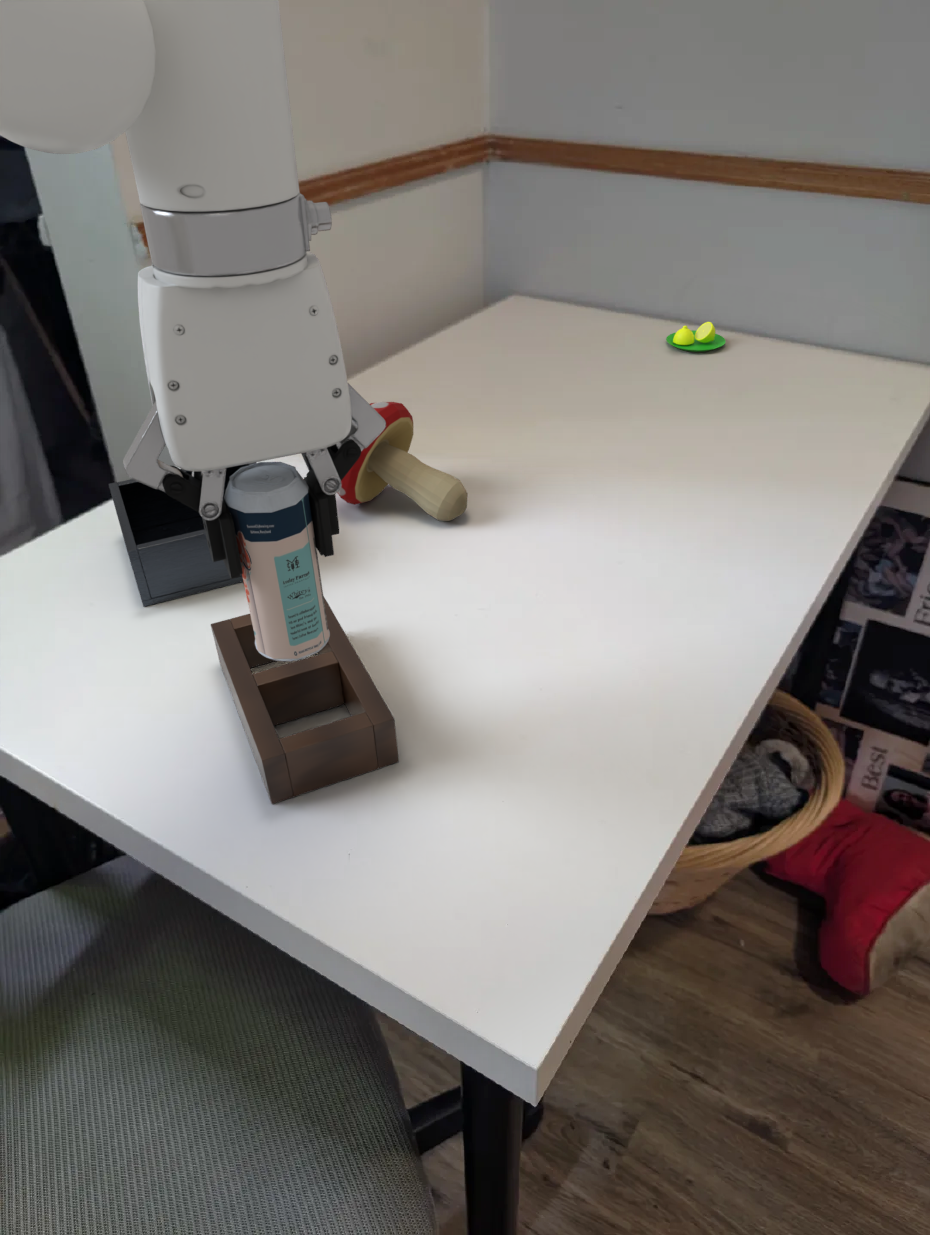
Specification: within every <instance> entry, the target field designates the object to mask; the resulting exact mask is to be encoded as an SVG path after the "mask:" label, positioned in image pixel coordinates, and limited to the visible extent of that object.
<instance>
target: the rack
mask: <svg viewBox="0 0 930 1235" xmlns="http://www.w3.org/2000/svg"><path fill="white" fill-rule="evenodd" d="M324 603H325V610H326V616H327V623H328V629H329V631H330V637H329V640H328V642H327V644H326V645H325V646H324V647H323V648H322V649H321V650H320V651H319V652H317V653H318V654H317V655H314V656H313V655H312V656H309V657H306V658H304V659H301V660H297V661H291V662H288V663H286V664H283V665H279V666H275V667H271V668H268V669H265V670H260V671H258V672H254V673H253V672H252V668H256V667H259V666H262V665H266V664H270V663H273V662H276V661H275V660H272V659H269V658H266V657H265V656H263V655H262V654H260V653H259V652H258V650H257V649H256V646H255V635H254V630H253V625H252V620H251V615H250V613H247V614H243V615H239V616H237V617H236V616H235V617H231V618H228V619H223V620H221V621H217V622H213V623H211V624H210V627H211V632H212V637H213V641H214V645H215V649H216V652H217V653H216V654H217V657H218V661H219V665H220V668H221V671H222V673H223V676H224V679H225V681H226V684H227V687H228V689H229V692H230V695H231V698H232V701H233V703H234V707H235V709H236V711H237V712H236V713H237V714H238V717H239V719H240V723H241V725H242V728H243V731H244V734H245V736H246V739H247V741H248V744H249V747H250V749H251V753H252V755H253V758H254V760H255V763H256V766H257V769H258V771H259V774H260V776H261V780H262V782H263V785H264V788H265V790H266V793H267V795H268V799H269V801H270V804H271V805H274V804H277V803H280V802H283V801H286V800H289V799H293V798H294V797H298V796H301V795H304V794H307V793H310V792H313V791H316V790H319V789H322V788H325V787H328V786H331V785H334V784H337V783H340V782H343V781H347V780H349V779H352V778H355V777H358V776H361V775H364V774H368V773H370V772H374V771H376V770H379V769H383V768H385V767H388V766H391V765H393V764H397V763H399V762H400V761H399V760H400V759H399V750H398V742H397V741H398V739H397V730H396V722H395V717H394V715H393V714H392V712H391V710H390V709H389V707H388V705H387V703H386V702H385V700H384V698H383V697H382V695H381V693H380V691H379V689H378V688H377V686H376V684H375V682H374V681H373V679H372V677H371V676H370V674H369V671H368V670H367V669H366V667H365V665H364V663H363V661H362V660H361V658H360V657H359V655H358V653H357V652H356V650H355V648H354V646H353V645H352V643H351V641H350V639H349V637H348V636H347V634H346V631H344V629H343V627H342V625H341V623H340V622H339V620H338V618H337V617H336V615H335V612H333V610H332V608H331V605H329V603H328V601H327V599H326V597H324ZM343 705H345V707H346V709H347V711H348V714H349V715H350V716H348V717H345V718H341V719H338V720H335V721H332V722H329V723H325V724H322V725H319V726H315V727H312V728H309V729H306V730H302V731H299V732H297V733H296V732H295V733H293V734H290V735H287V736H284V737H279V735H278V733H277V730H276V728H275V726H278V725H281V724H284V723H287V722H291V721H294V720H297V719H301V718H304V717H307V716H310V715H314V714H317V713H320V712H324V711H327V710H329V709H333V708H336V707H340V706H343Z"/></svg>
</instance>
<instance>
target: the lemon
mask: <svg viewBox="0 0 930 1235" xmlns="http://www.w3.org/2000/svg"><path fill="white" fill-rule="evenodd" d="M665 340H666V341H665V342H667V343H668V345H671V346H672V347H674V348H676V349H678V350H681V351H685V352H690V353H691V352H692V353H704V352H705V353H706V352H709V351H713V350H715V349H718V348H721V347H723V346H724V345H725V344H726V339H725V337H724V336H722V335H721V334H718V333H716V328H715V325H714V324H713V322H711V321H706V322H704V323H702V324H701V325H700V326H699V327H698V328H697V329H696V330H693V329H692V330H691V329H690V328H689V327H688V325H683V326H682V327H681V328H679V329H678V330H677V331H676V332H672V333H670V334H669V335H667V336H666V338H665Z"/></svg>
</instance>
